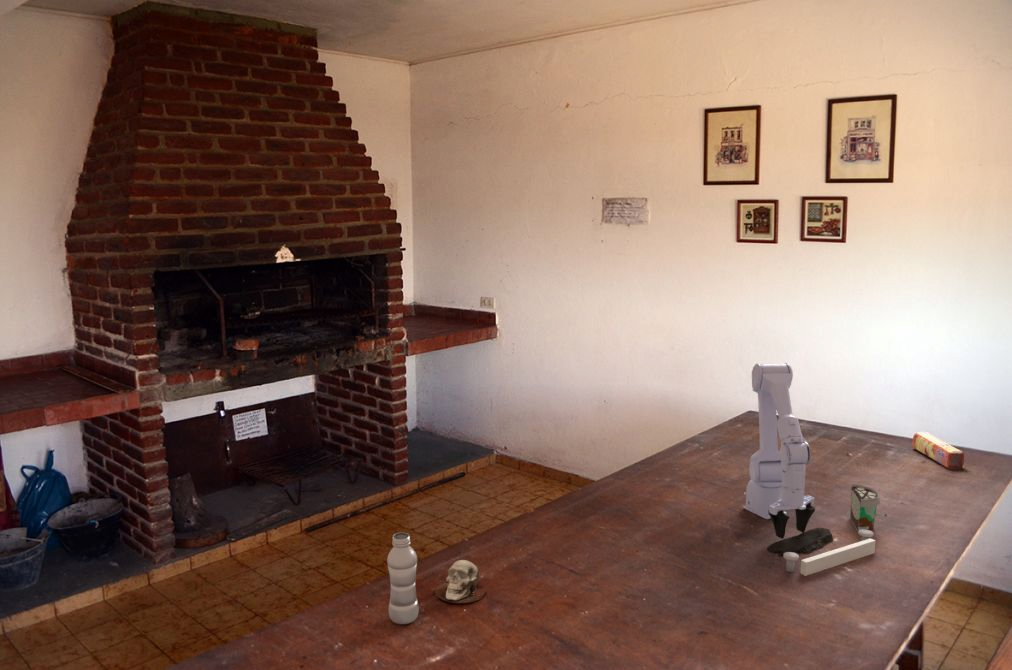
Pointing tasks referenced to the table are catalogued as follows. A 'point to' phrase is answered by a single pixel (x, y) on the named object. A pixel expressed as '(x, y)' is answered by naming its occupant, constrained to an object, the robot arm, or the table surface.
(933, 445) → the snack package
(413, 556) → the plastic bottle
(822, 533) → the wood
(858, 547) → the cream long bar
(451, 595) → the skull
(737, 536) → the table surface
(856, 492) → the food container
